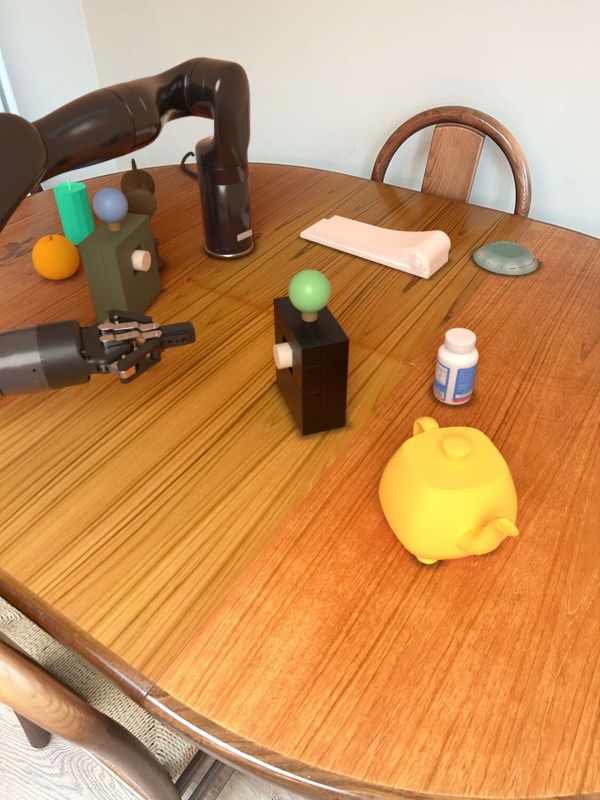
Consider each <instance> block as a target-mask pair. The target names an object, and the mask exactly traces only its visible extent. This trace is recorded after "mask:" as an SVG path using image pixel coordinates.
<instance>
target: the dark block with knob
mask: <svg viewBox="0 0 600 800" xmlns="http://www.w3.org/2000/svg"><path fill="white" fill-rule="evenodd" d="M287 289H288V290H287V291H288V293H287V295H286V296H285V295H284V296H281V297H274V298H273V301H272V302H273V324H274V345H276V344H281V343H286V342H288V344H289V346H290V348H291V349H292V367H288V368H283V369H278V368H277V366H276V365H275V377H276V385H277V387H278V389H279V391H280V392H281V394H282V397H283V399H284V401H285V403H286V406H287V407H288V409H289V411H290V414H291V416H292V418H293V420H294V422H295V424H296V425H297V428H298V430H299V432H300V434H301V436H302V437H305V436H310V435H315V434H319V433H324V432H328V431H331V430H337V429H341V428H345V427H346V415H347V397H348V377H349V357H350V355H349V354H350V338H349V336H348V335H347V333H346V332H345V330H344V329H343V327H342V326H341V325H340V324H339V322H338V320H337V319H336V317H335V316H334V314H333V313H332V311H331V310H330V309H329V306H327V305H328V303H329V302H330V299H331V297H332V287H331V283H330V281H329V279H328V278H327V276H326V275H325V274H324V273H322V272H321V271H320V270H316V269H312V268H311V269H310V268H309V269H303V270H301V271H299V272H296V274H295V275H294V276H293V277H292V278H291V279H290V282H289V285H288V288H287Z"/></svg>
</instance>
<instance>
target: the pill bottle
mask: <svg viewBox="0 0 600 800" xmlns="http://www.w3.org/2000/svg"><path fill="white" fill-rule="evenodd" d="M443 342H444V343H442V345H440V346H439V347H438V349H437V356H436V362H435V370H434V379H433V385H432V393H433V396H434V398H436V399H437V400H438V401H440V402H441V403H442V404H443V403H444V404H446V405H450V406H451V405H453V406H459V405H463V404H465V403H467V402H469V401H470V399H471V398H472V395H473V390H474V386H475V381H476V376H477V375H476V374H477V369H478V363H479V351H478V349H477V348H476V342H477V336H476V334H475V333H474V332H473V331H472V330H470V329H468V328H464V327H454V328H451V329H448V330H447V331H446V332H445V334H444V340H443Z"/></svg>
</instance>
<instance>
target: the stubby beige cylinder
mask: <svg viewBox="0 0 600 800" xmlns="http://www.w3.org/2000/svg"><path fill="white" fill-rule="evenodd" d="M272 353H273V359H274V363H275V367H276V366H277V368H278V369H283V368H288V367H292V349H291V348H290V346H289V344H288V342H286V343H281V344H276V345H275V344H274V345H273V346H272Z"/></svg>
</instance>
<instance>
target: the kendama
mask: <svg viewBox="0 0 600 800" xmlns="http://www.w3.org/2000/svg"><path fill="white" fill-rule="evenodd" d="M130 163H131V170H127V172H124V174H123V175H122V177H121V179H120V191H121V192H122V193H123V194H124V196H125V197H126V199H127V202H128V211H127V213H134V214H142V215H149V217H150V219H151V218H153V217H154V216H155V214H156V212H157V210H158V202H157V199H156V196H155V192H156V184H155V181H154V177H152V175H151V174H150V173H149V172H148V171H145V170H143V169H138V167H137V163H136V160H135V158H134V157H132V158H131V161H130ZM152 235H153V241H154V247H155V253H156V260H157V266H158V270H159V269H162V267H163V266H164V265H165V259H164V258H163V256H161V255H160V251H159V246H160V241H159V239H158V238H157V237H156V236H155V234H154V233H153V231H152Z"/></svg>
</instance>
